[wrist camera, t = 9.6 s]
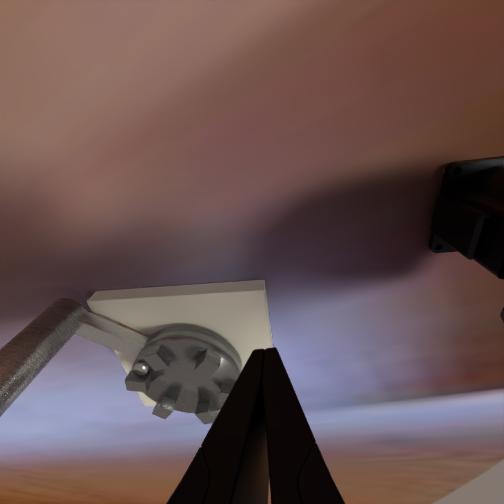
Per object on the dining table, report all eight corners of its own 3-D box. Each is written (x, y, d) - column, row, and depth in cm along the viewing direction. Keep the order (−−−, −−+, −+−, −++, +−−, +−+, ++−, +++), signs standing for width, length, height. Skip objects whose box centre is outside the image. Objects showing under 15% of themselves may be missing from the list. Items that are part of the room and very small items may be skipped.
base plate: (264, 279, 22) (263, 290, 21) (279, 392, 30) (279, 406, 28) (96, 291, 24) (85, 302, 23) (150, 393, 32) (144, 406, 30)
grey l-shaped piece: (71, 253, 20) (-716, 809, 4) (263, 358, 24) (247, 826, 8) (41, 327, 24) (-390, 732, 8) (209, 405, 28) (130, 769, 13)
